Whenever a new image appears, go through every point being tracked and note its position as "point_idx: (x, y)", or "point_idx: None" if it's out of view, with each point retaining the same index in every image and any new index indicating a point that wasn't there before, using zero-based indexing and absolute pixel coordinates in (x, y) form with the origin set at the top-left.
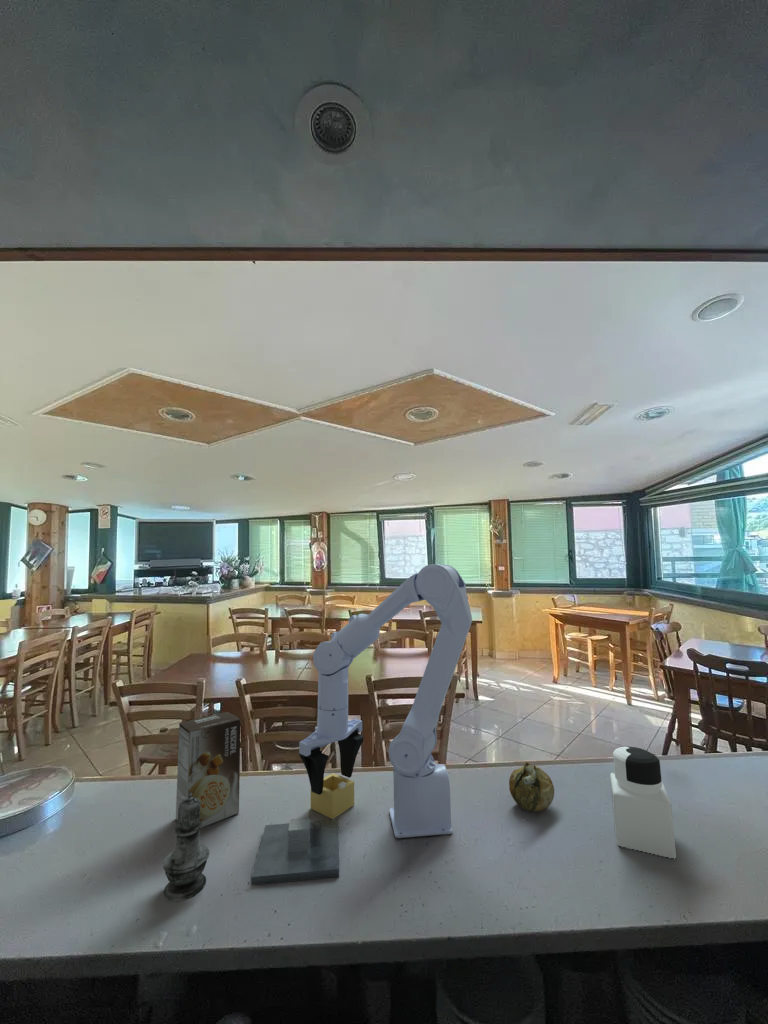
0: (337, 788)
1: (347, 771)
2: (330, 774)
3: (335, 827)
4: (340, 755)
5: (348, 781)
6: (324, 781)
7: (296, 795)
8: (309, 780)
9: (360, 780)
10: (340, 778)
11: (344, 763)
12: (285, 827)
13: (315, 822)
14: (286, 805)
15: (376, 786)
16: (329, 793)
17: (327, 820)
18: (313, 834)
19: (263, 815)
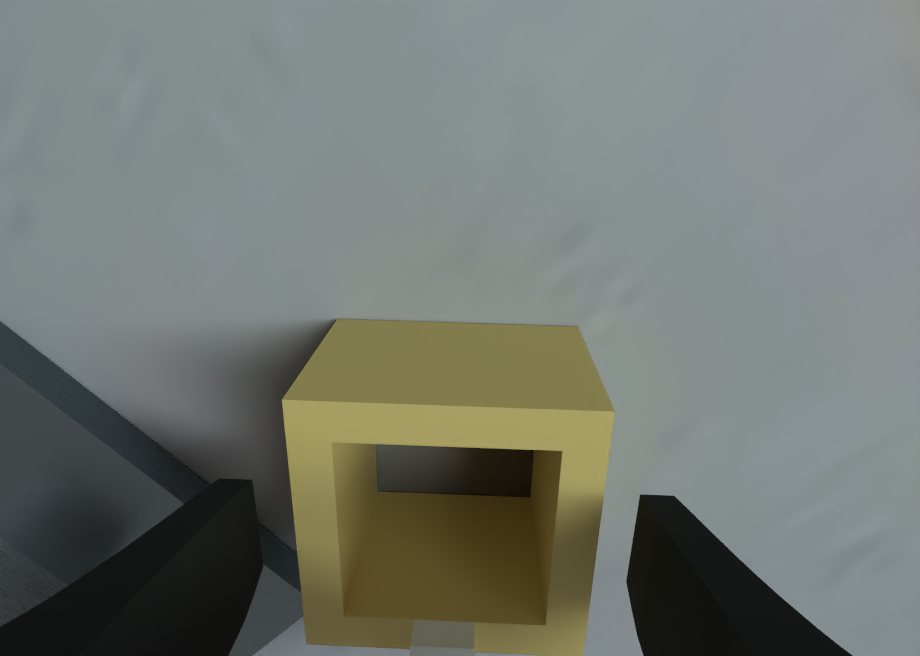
0: (401, 622)
1: (644, 603)
2: (570, 416)
3: (250, 636)
4: (729, 627)
5: (557, 621)
6: (437, 440)
7: (392, 58)
8: (149, 530)
9: (906, 352)
10: (559, 542)
11: (680, 619)
12: (13, 417)
13: None
14: (231, 120)
15: (863, 501)
16: (304, 612)
17: (263, 564)
18: None
19: (10, 80)
